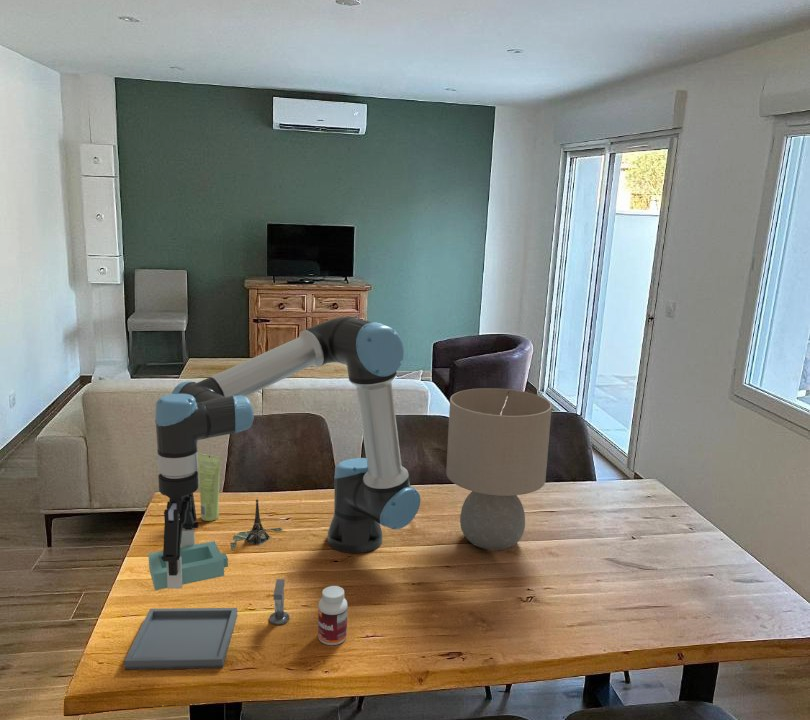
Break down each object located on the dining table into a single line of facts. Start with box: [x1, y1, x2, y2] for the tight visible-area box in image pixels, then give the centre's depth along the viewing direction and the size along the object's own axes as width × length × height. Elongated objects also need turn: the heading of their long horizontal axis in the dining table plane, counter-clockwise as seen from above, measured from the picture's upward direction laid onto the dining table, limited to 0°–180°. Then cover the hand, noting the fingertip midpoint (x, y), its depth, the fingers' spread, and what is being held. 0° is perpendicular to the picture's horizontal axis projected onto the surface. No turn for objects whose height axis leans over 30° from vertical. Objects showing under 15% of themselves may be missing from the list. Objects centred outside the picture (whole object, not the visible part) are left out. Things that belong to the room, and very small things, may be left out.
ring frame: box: [147, 540, 229, 591], centre depth 144 cm, size 15×9×4 cm, turn 116°
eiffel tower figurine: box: [230, 498, 284, 550], centre depth 191 cm, size 15×10×13 cm
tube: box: [197, 452, 222, 522], centre depth 201 cm, size 6×5×20 cm
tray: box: [123, 607, 238, 671], centre depth 146 cm, size 19×18×2 cm
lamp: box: [445, 387, 553, 551], centre depth 190 cm, size 27×27×41 cm
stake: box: [268, 578, 290, 626], centre depth 155 cm, size 4×6×8 cm
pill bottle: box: [317, 585, 348, 646], centre depth 148 cm, size 6×6×11 cm
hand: (182, 572), depth 143 cm, fingers closed on ring frame, 11 cm apart
